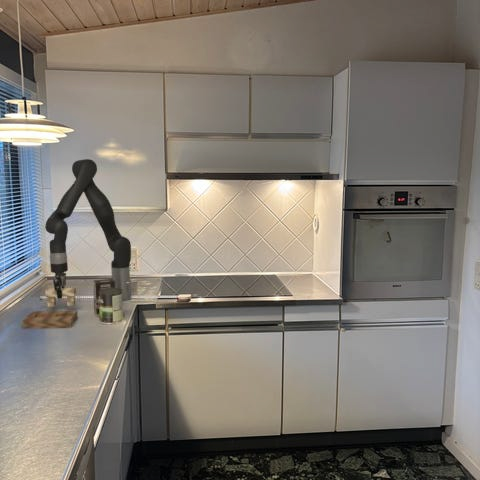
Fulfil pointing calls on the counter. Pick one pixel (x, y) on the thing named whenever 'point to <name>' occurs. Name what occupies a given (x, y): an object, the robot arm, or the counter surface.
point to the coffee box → (98, 286)
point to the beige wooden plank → (68, 292)
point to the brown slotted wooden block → (50, 319)
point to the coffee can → (110, 305)
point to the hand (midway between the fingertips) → (61, 296)
